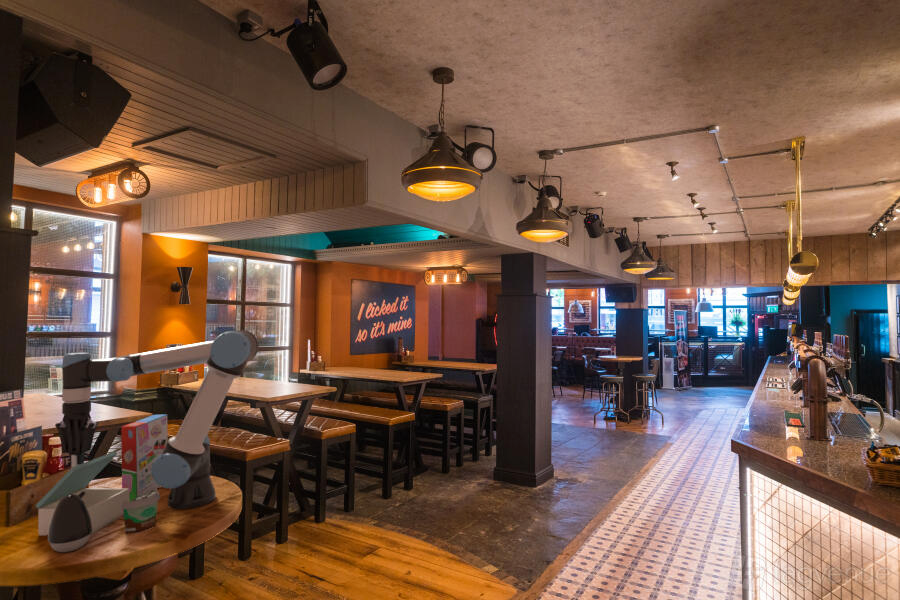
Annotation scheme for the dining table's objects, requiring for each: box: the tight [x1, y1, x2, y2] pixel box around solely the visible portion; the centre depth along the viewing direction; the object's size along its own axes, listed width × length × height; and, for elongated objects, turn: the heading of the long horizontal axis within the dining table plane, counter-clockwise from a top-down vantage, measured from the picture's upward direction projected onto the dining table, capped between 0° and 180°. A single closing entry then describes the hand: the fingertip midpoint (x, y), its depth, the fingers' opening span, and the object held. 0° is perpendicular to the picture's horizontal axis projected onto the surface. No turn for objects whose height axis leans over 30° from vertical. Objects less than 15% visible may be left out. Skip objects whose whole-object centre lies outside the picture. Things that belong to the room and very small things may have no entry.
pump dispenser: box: [47, 492, 92, 553], centre depth 147 cm, size 10×10×15 cm
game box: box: [120, 413, 169, 501], centre depth 192 cm, size 21×6×27 cm, turn 0°
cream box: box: [37, 487, 130, 536], centre depth 164 cm, size 16×18×8 cm
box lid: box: [35, 450, 118, 509], centre depth 165 cm, size 16×18×1 cm
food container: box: [121, 489, 161, 535], centre depth 160 cm, size 12×6×10 cm, turn 168°
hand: (76, 474), depth 165 cm, fingers closed
